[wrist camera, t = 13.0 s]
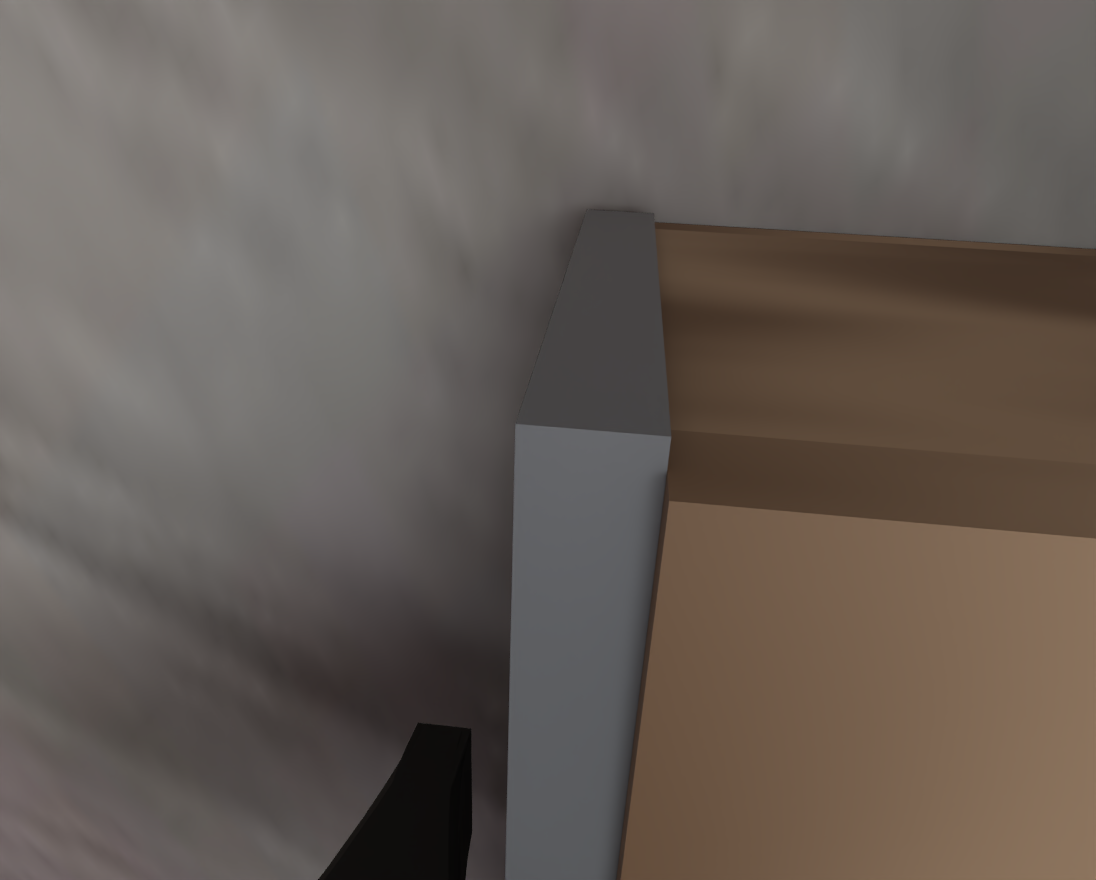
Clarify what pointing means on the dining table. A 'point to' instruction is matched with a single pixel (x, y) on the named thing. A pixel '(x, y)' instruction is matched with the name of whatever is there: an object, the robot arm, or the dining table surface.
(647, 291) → the drawer
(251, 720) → the dining table surface
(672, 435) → the wooden box
